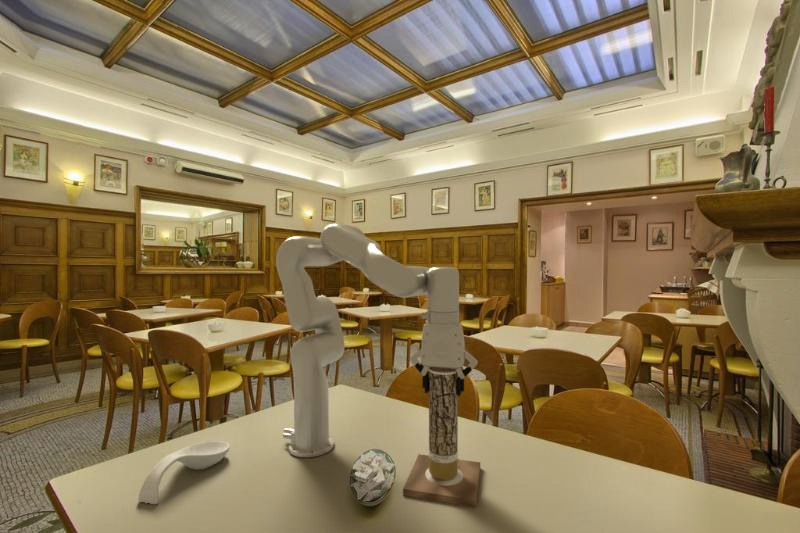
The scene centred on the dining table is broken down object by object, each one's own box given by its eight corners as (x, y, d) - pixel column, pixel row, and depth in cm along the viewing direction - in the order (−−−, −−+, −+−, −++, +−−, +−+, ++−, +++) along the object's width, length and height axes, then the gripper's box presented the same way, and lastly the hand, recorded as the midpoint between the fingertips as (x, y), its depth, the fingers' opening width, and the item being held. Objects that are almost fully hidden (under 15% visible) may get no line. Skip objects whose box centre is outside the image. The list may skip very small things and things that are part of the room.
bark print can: (456, 483, 84) (456, 373, 85) (427, 479, 86) (427, 371, 86) (458, 467, 91) (458, 365, 91) (430, 464, 92) (430, 364, 93)
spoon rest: (201, 450, 104) (201, 425, 104) (238, 454, 102) (239, 428, 102) (124, 502, 81) (124, 469, 81) (171, 509, 79) (171, 475, 79)
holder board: (403, 495, 83) (403, 488, 83) (418, 459, 98) (418, 454, 98) (476, 507, 78) (475, 500, 78) (480, 468, 94) (480, 462, 94)
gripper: (404, 319, 87) (404, 394, 87) (479, 321, 83) (479, 401, 83) (411, 315, 95) (411, 384, 94) (481, 317, 90) (481, 391, 90)
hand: (443, 392), depth 88 cm, fingers open, 7 cm apart
